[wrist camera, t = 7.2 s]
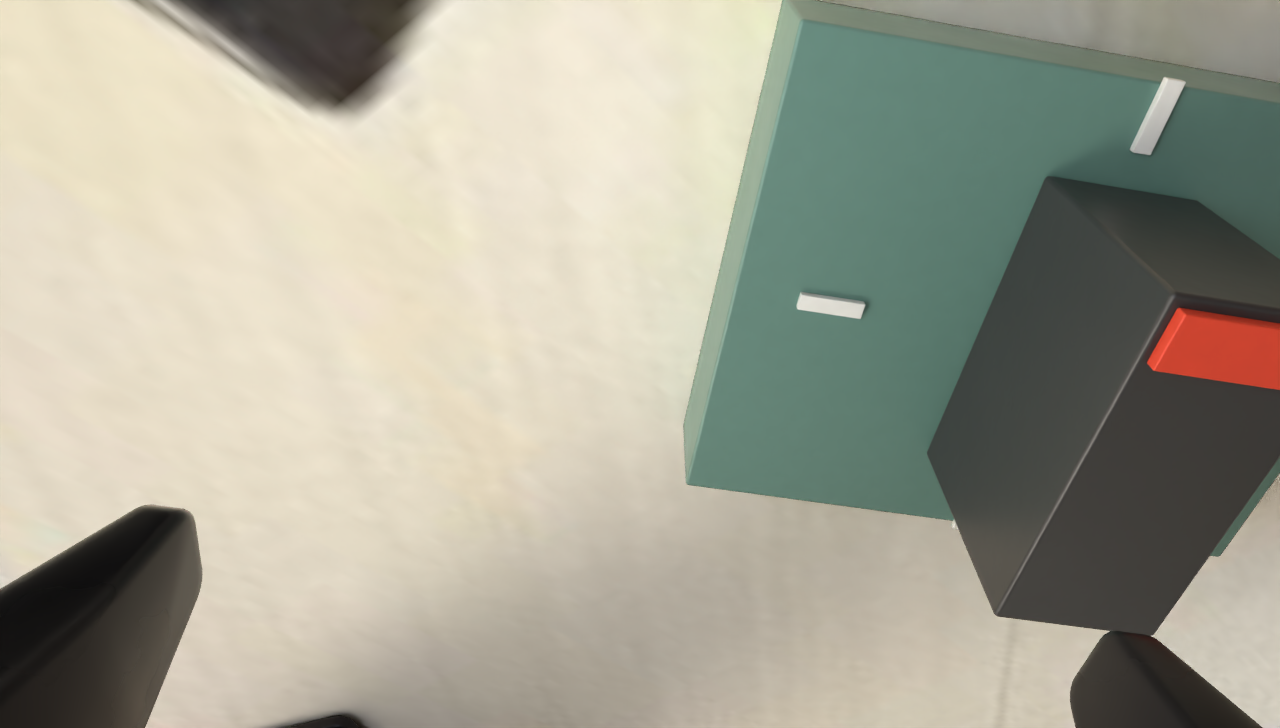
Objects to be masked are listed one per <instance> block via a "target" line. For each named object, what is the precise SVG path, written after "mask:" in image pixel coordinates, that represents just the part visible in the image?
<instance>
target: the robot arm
mask: <svg viewBox="0 0 1280 728" xmlns="http://www.w3.org/2000/svg"><path fill="white" fill-rule="evenodd" d="M201 582H202V565H201V558H200V552H199V545H198V538H197V531H196V525H195V520H194V517H193V515H192V514H191V513H190V512H189V511H187V510H185V509H181V508H173V507H165V506H157V505H144V506H141V507H138V508H136V509H134V510H133V511H131V512H129V513H128V514H126V515H124V516H123V517H121V518H119V519H117V520H116V521H114V522H112V523H111V524H109V525H107V526H106V527H104V528H102V529H101V530H99V531H97V532H96V533H94V534H92V535H90V536H89V537H87V538H85V539H84V540H82V541H80V542H79V543H77V544H75V545H74V546H72V547H70V548H69V549H67V550H65V551H63V552H62V553H60V554H58V555H57V556H55V557H53V558H52V559H50V560H48V561H47V562H45V563H43V564H42V565H40V566H38V567H37V568H35V569H33V570H31V571H30V572H28V573H26V574H25V575H23V576H21V577H20V578H18V579H16V580H15V581H13V582H11V583H10V584H8V585H6V586H4V587H3V588H1V589H0V728H145V726H146V724H147V721H148V719H149V717H150V714H151V712H152V709H153V707H154V704H155V702H156V699H157V697H158V694H159V692H160V689H161V687H162V684H163V682H164V679H165V677H166V675H167V672H168V670H169V667H170V665H171V662H172V660H173V657H174V655H175V652H176V650H177V647H178V645H179V642H180V640H181V637H182V635H183V632H184V630H185V628H186V625H187V623H188V620H189V618H190V615H191V613H192V610H193V608H194V605H195V603H196V600H197V598H198V595H199V592H200V588H201ZM1070 703H1071V709H1072V713H1073V718H1074V722H1075V727H1076V728H1262V727H1261V726H1260V725H1259V724H1258V723H1256V722H1255V721H1254V720H1253V719H1252V718H1250V717H1249V716H1248V715H1247V714H1246V713H1244V712H1243V711H1242V710H1241V709H1240V708H1238V707H1237V706H1236V705H1235V704H1234V703H1232V702H1231V701H1230V700H1229V699H1228V698H1226V697H1225V696H1224V695H1223V694H1222V693H1221V692H1219V691H1218V690H1217V689H1216V688H1215V687H1213V686H1212V685H1211V684H1210V683H1209V682H1207V681H1206V680H1205V679H1204V678H1203V677H1201V676H1200V675H1199V674H1198V673H1197V672H1195V671H1194V670H1193V669H1192V668H1191V667H1189V666H1188V665H1187V664H1186V663H1185V662H1183V661H1182V660H1181V659H1180V658H1179V657H1177V656H1176V655H1175V654H1174V653H1173V652H1171V651H1170V650H1169V649H1168V648H1167V647H1165V646H1164V645H1163V644H1162V643H1161V642H1159V641H1158V640H1157V639H1155V638H1153V637H1151V636H1148V635H1145V634H1137V633H1130V632H1122V631H1110V632H1109V633H1107V634H1105V635H1103V637H1102V638H1101V639H1100V640H1099V642H1098V643H1097V645H1096V646H1095V648H1094V649H1093V651H1092V652H1091V654H1090V655H1089V657H1088V658H1087V660H1086V661H1085V663H1084V664H1083V666H1082V667H1081V669H1080V670H1079V672H1078V673H1077V675H1076V676H1075V678H1074V680H1073V682H1072V686H1071V691H1070ZM287 728H359V727H358V726H357V725H356V723H355V722H354V721H353V720H351V719H350V718H347V717H345V716H332V717H328V718H324V719H320V720H316V721H312V722H308V723H304V724H300V725H296V726H291V727H287Z"/></svg>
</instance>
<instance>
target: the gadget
mask: <svg viewBox="0 0 1280 728" xmlns="http://www.w3.org/2000/svg"><path fill="white" fill-rule="evenodd" d="M927 456H928V458H929V461H930V463H931V466H932V468H933V470H934V473H935V475H936V477H937V480H938V482H939V484H940V487H941V489H942V492H943V494H944V496H945V499H946V501H947V503H948V506H949V508H950V510H951V513H952V515H953V518H954V520H955V522H956V525H957V527H958V529H959V532H960V534H961V536H962V539H963V541H964V544H965V546H966V548H967V551H968V553H969V555H970V558H971V560H972V562H973V565H974V567H975V570H976V572H977V574H978V577H979V579H980V581H981V584H982V586H983V588H984V591H985V593H986V596H987V598H988V600H989V603H990V605H991V607H992V610H993V612H994V614H995V615H996V616H999V617H1007V618H1014V619H1022V620H1030V621H1038V622H1045V623H1053V624H1061V625H1069V626H1076V627H1084V628H1092V629H1100V630H1107V631H1122V632H1130V633H1137V634H1145V635H1148V636H1151V635H1153V634H1154V633H1155V632H1156V631H1157V629H1158V628H1159V626H1160V625H1161V623H1162V622H1163V621H1164V619H1165V618H1166V616H1167V615H1168V614H1169V612H1170V611H1171V609H1172V608H1173V607H1174V605H1175V604H1176V602H1177V601H1178V600H1179V598H1180V597H1181V595H1182V594H1183V593H1184V591H1185V590H1186V588H1187V587H1188V585H1189V584H1190V583H1191V581H1192V580H1193V578H1194V577H1195V576H1196V574H1197V573H1198V571H1199V570H1200V569H1201V567H1202V566H1203V564H1204V563H1205V562H1206V560H1207V559H1208V557H1209V556H1210V554H1211V553H1212V552H1213V550H1214V549H1215V547H1216V546H1217V545H1218V543H1219V542H1220V540H1221V539H1222V538H1223V536H1224V535H1225V533H1226V532H1227V531H1228V529H1229V528H1230V526H1231V525H1232V524H1233V522H1234V521H1235V519H1236V518H1237V516H1238V515H1239V514H1240V512H1241V511H1242V509H1243V508H1244V507H1245V505H1246V504H1247V502H1248V501H1249V500H1250V498H1251V497H1252V495H1253V494H1254V493H1255V491H1256V490H1257V488H1258V487H1259V485H1260V484H1261V483H1262V481H1263V480H1264V478H1265V477H1266V476H1267V474H1268V473H1269V471H1270V470H1271V469H1272V467H1273V466H1274V464H1275V463H1276V462H1277V460H1278V459H1279V457H1280V259H1279V258H1277V257H1276V256H1274V255H1273V254H1272V253H1270V252H1269V251H1267V250H1266V249H1264V248H1263V247H1262V246H1260V245H1259V244H1257V243H1256V242H1255V241H1253V240H1252V239H1250V238H1249V237H1248V236H1246V235H1245V234H1243V233H1242V232H1241V231H1239V230H1238V229H1236V228H1235V227H1234V226H1232V225H1231V224H1229V223H1228V222H1227V221H1225V220H1224V219H1222V218H1221V217H1220V216H1218V215H1217V214H1215V213H1214V212H1213V211H1211V210H1210V209H1208V208H1207V207H1206V206H1204V205H1203V204H1201V203H1200V202H1198V201H1196V200H1190V199H1184V198H1178V197H1172V196H1167V195H1161V194H1155V193H1149V192H1143V191H1137V190H1131V189H1125V188H1119V187H1113V186H1107V185H1101V184H1095V183H1089V182H1083V181H1077V180H1071V179H1065V178H1060V177H1054V176H1047V177H1046V178H1045V179H1044V182H1043V184H1042V186H1041V189H1040V191H1039V193H1038V196H1037V198H1036V200H1035V203H1034V205H1033V207H1032V209H1031V212H1030V214H1029V216H1028V219H1027V221H1026V223H1025V226H1024V228H1023V230H1022V233H1021V235H1020V237H1019V240H1018V242H1017V244H1016V247H1015V249H1014V251H1013V254H1012V256H1011V258H1010V261H1009V263H1008V265H1007V267H1006V270H1005V272H1004V274H1003V277H1002V279H1001V281H1000V284H999V286H998V288H997V291H996V293H995V295H994V298H993V300H992V302H991V305H990V307H989V309H988V312H987V314H986V316H985V318H984V321H983V323H982V325H981V328H980V330H979V332H978V335H977V337H976V339H975V342H974V344H973V346H972V349H971V351H970V353H969V356H968V358H967V360H966V363H965V365H964V367H963V370H962V372H961V374H960V376H959V379H958V381H957V383H956V386H955V388H954V390H953V393H952V395H951V397H950V400H949V402H948V404H947V407H946V409H945V411H944V414H943V416H942V418H941V421H940V423H939V425H938V428H937V430H936V432H935V434H934V437H933V439H932V441H931V444H930V446H929V448H928V451H927Z"/></svg>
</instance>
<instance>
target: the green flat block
mask: <svg viewBox="0 0 1280 728" xmlns="http://www.w3.org/2000/svg"><path fill="white" fill-rule="evenodd" d="M1047 176H1054V177H1060V178H1065V179H1071V180H1077V181H1083V182H1089V183H1095V184H1101V185H1107V186H1113V187H1119V188H1125V189H1131V190H1137V191H1143V192H1149V193H1155V194H1161V195H1167V196H1172V197H1178V198H1184V199H1190V200H1196V201H1198V202H1200V203H1201V204H1203V205H1204V206H1206V207H1207V208H1208V209H1210V210H1211V211H1213V212H1214V213H1215V214H1217V215H1218V216H1220V217H1221V218H1222V219H1224V220H1225V221H1227V222H1228V223H1229V224H1231V225H1232V226H1234V227H1235V228H1236V229H1238V230H1239V231H1241V232H1242V233H1243V234H1245V235H1246V236H1248V237H1249V238H1250V239H1252V240H1253V241H1255V242H1256V243H1257V244H1259V245H1260V246H1262V247H1263V248H1264V249H1266V250H1267V251H1269V252H1270V253H1272V254H1273V255H1274V256H1276V257H1277V258H1279V259H1280V83H1276V82H1270V81H1265V80H1259V79H1254V78H1248V77H1242V76H1237V75H1231V74H1226V73H1220V72H1214V71H1209V70H1203V69H1198V68H1192V67H1186V66H1181V65H1175V64H1170V63H1164V62H1158V61H1153V60H1147V59H1142V58H1136V57H1130V56H1125V55H1119V54H1114V53H1108V52H1102V51H1097V50H1091V49H1085V48H1080V47H1074V46H1069V45H1063V44H1057V43H1052V42H1046V41H1041V40H1035V39H1029V38H1024V37H1018V36H1013V35H1007V34H1001V33H996V32H990V31H985V30H979V29H973V28H968V27H962V26H957V25H951V24H945V23H940V22H934V21H929V20H923V19H917V18H912V17H906V16H901V15H895V14H889V13H884V12H878V11H872V10H867V9H861V8H856V7H850V6H844V5H839V4H833V3H828V2H822V1H816V0H783V1H782V5H781V9H780V13H779V18H778V22H777V26H776V31H775V35H774V39H773V43H772V48H771V52H770V56H769V60H768V65H767V69H766V73H765V78H764V82H763V86H762V90H761V95H760V99H759V103H758V108H757V112H756V116H755V120H754V125H753V129H752V133H751V137H750V142H749V146H748V150H747V155H746V159H745V163H744V167H743V172H742V176H741V180H740V185H739V189H738V193H737V197H736V202H735V206H734V210H733V215H732V219H731V223H730V227H729V232H728V236H727V240H726V244H725V249H724V253H723V257H722V262H721V266H720V270H719V274H718V279H717V283H716V287H715V292H714V296H713V300H712V304H711V309H710V313H709V317H708V321H707V326H706V330H705V334H704V339H703V343H702V347H701V351H700V356H699V360H698V364H697V369H696V373H695V377H694V381H693V386H692V390H691V394H690V398H689V403H688V407H687V411H686V416H685V420H684V424H683V428H684V450H685V473H686V483H687V484H688V485H693V486H701V487H708V488H715V489H723V490H730V491H737V492H745V493H752V494H760V495H767V496H774V497H782V498H789V499H796V500H804V501H811V502H819V503H826V504H833V505H841V506H848V507H855V508H863V509H870V510H878V511H885V512H892V513H900V514H907V515H914V516H922V517H929V518H936V519H944V520H951V521H953V522H952V524H951V526H952V528H953V529H957V530H959V529H958V527H957V525H956V522H955V520H954V518H953V515H952V513H951V510H950V508H949V506H948V503H947V501H946V499H945V496H944V494H943V492H942V489H941V487H940V484H939V482H938V480H937V477H936V475H935V473H934V470H933V468H932V466H931V463H930V461H929V458H928V456H927V451H928V448H929V446H930V444H931V441H932V439H933V437H934V434H935V432H936V430H937V428H938V425H939V423H940V421H941V418H942V416H943V414H944V411H945V409H946V407H947V404H948V402H949V400H950V397H951V395H952V393H953V390H954V388H955V386H956V383H957V381H958V379H959V376H960V374H961V372H962V370H963V367H964V365H965V363H966V360H967V358H968V356H969V353H970V351H971V349H972V346H973V344H974V342H975V339H976V337H977V335H978V332H979V330H980V328H981V325H982V323H983V321H984V318H985V316H986V314H987V312H988V309H989V307H990V305H991V302H992V300H993V298H994V295H995V293H996V291H997V288H998V286H999V284H1000V281H1001V279H1002V277H1003V274H1004V272H1005V270H1006V267H1007V265H1008V263H1009V261H1010V258H1011V256H1012V254H1013V251H1014V249H1015V247H1016V244H1017V242H1018V240H1019V237H1020V235H1021V233H1022V230H1023V228H1024V226H1025V223H1026V221H1027V219H1028V216H1029V214H1030V212H1031V209H1032V207H1033V205H1034V203H1035V200H1036V198H1037V196H1038V193H1039V191H1040V189H1041V186H1042V184H1043V182H1044V179H1045V178H1046V177H1047ZM1279 473H1280V457H1279V459H1278V460H1277V462H1276V463H1275V464H1274V466H1273V467H1272V469H1271V470H1270V471H1269V473H1268V474H1267V476H1266V477H1265V478H1264V480H1263V481H1262V483H1261V484H1260V485H1259V487H1258V488H1257V490H1256V491H1255V493H1254V494H1253V495H1252V497H1251V498H1250V500H1249V501H1248V502H1247V504H1246V505H1245V507H1244V508H1243V509H1242V511H1241V512H1240V514H1239V515H1238V516H1237V518H1236V519H1235V521H1234V522H1233V524H1232V525H1231V526H1230V528H1229V529H1228V531H1227V532H1226V533H1225V535H1224V536H1223V538H1222V539H1221V540H1220V542H1219V543H1218V545H1217V546H1216V547H1215V549H1214V550H1213V552H1212V553H1211V554H1210V556H1217V557H1218V556H1220V555H1221V554H1222V553H1223V551H1224V550H1225V549H1226V547H1227V546H1228V544H1229V543H1230V542H1231V540H1232V539H1233V537H1234V536H1235V535H1236V533H1237V532H1238V530H1239V529H1240V528H1241V526H1242V525H1243V523H1244V522H1245V521H1246V519H1247V518H1248V516H1249V515H1250V514H1251V512H1252V511H1253V510H1254V508H1255V507H1256V505H1257V504H1258V503H1259V501H1260V500H1261V498H1262V497H1263V496H1264V494H1265V493H1266V491H1267V490H1268V489H1269V487H1270V486H1271V484H1272V483H1273V482H1274V480H1275V479H1276V477H1277V476H1278V475H1279Z"/></svg>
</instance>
